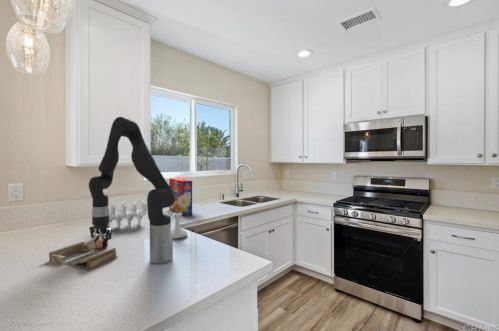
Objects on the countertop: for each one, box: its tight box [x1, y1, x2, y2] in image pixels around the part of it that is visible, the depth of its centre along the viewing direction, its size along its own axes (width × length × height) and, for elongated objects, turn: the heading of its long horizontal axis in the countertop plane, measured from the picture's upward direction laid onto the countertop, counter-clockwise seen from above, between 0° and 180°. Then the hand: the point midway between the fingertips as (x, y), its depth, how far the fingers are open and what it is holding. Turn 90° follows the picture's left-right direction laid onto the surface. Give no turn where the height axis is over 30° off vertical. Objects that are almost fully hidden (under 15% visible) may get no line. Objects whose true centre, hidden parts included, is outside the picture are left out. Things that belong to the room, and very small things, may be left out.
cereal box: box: [168, 177, 193, 217], centre depth 208 cm, size 28×8×28 cm, turn 40°
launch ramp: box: [71, 247, 117, 270], centre depth 111 cm, size 14×12×6 cm
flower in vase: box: [171, 195, 190, 239], centre depth 146 cm, size 13×11×25 cm
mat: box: [62, 250, 119, 272], centre depth 114 cm, size 25×15×1 cm, turn 69°
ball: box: [94, 239, 104, 250], centre depth 127 cm, size 5×5×5 cm
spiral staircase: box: [108, 200, 148, 229], centre depth 163 cm, size 18×18×25 cm
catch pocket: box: [48, 241, 96, 265], centre depth 116 cm, size 9×15×4 cm, turn 160°
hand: (101, 247), depth 127 cm, fingers closed on ball, 5 cm apart
